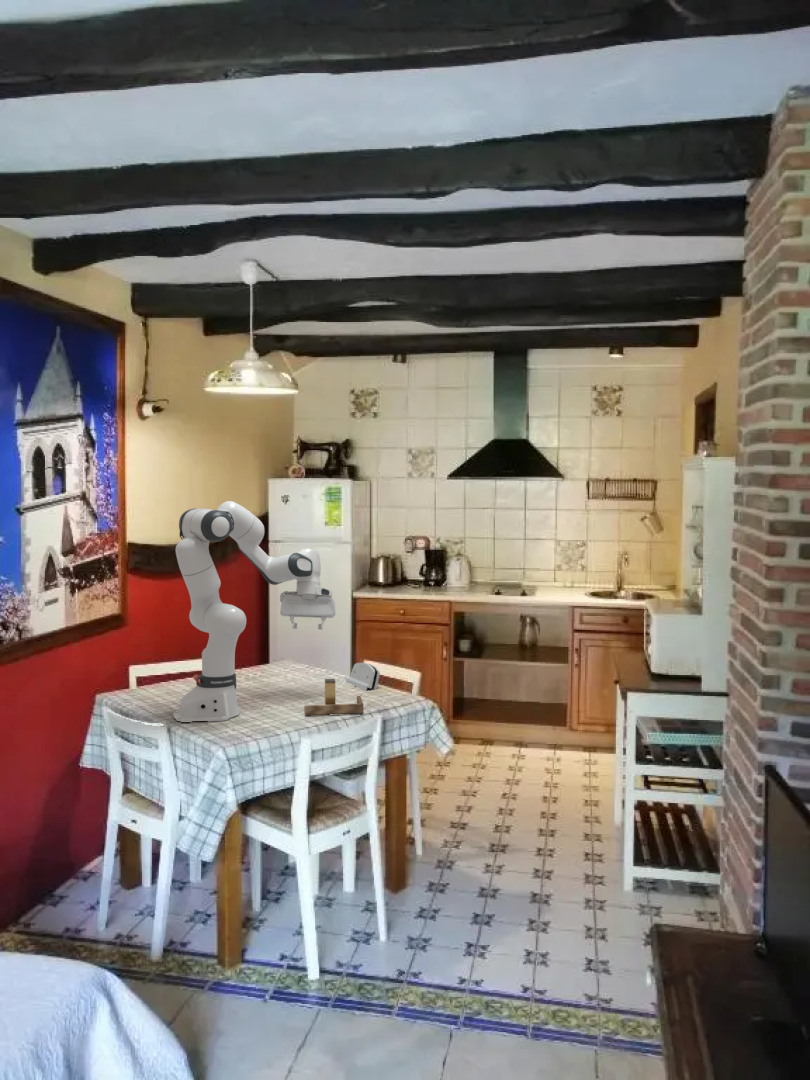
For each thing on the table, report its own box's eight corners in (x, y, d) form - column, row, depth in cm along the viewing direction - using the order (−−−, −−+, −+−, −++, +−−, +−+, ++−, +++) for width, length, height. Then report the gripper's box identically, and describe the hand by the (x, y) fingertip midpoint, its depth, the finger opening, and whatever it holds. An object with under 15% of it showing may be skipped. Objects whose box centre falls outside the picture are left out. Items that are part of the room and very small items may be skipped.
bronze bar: (325, 709, 306) (325, 681, 305) (325, 706, 309) (324, 678, 308) (335, 708, 306) (335, 680, 306) (334, 706, 310) (334, 678, 309)
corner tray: (305, 716, 299) (305, 706, 299) (304, 707, 311) (304, 697, 311) (363, 714, 302) (363, 704, 302) (360, 705, 314) (360, 695, 314)
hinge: (345, 682, 349) (352, 658, 350) (354, 685, 351) (361, 661, 353) (365, 691, 335) (373, 665, 336) (375, 693, 337) (383, 668, 338)
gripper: (281, 588, 319) (280, 626, 315) (336, 591, 324) (336, 628, 320) (279, 592, 325) (278, 629, 321) (333, 595, 330) (333, 631, 326)
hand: (307, 628), depth 320 cm, fingers open, 8 cm apart
